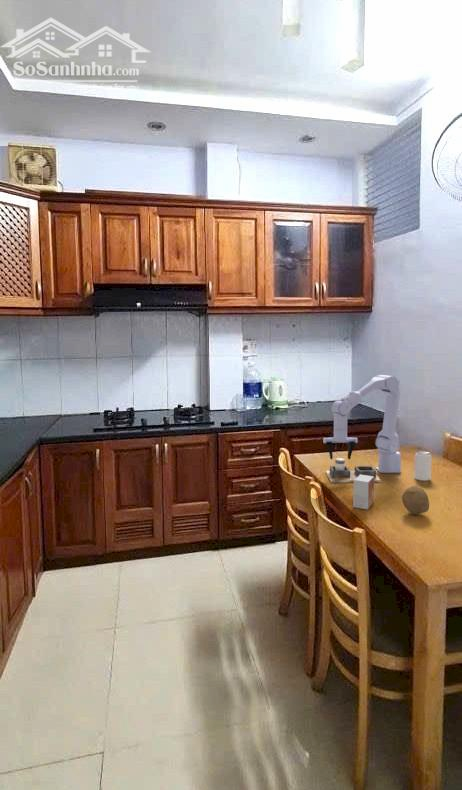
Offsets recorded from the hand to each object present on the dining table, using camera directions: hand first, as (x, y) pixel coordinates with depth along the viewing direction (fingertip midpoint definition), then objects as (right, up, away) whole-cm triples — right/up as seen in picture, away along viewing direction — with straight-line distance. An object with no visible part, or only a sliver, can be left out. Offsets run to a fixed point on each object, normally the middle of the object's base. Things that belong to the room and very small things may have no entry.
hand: (340, 458), depth 206 cm
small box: (+1, -13, -32) cm, 34 cm away
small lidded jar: (0, -7, +1) cm, 7 cm away
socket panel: (+6, -8, +1) cm, 10 cm away
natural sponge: (+17, -14, -40) cm, 46 cm away
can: (+35, -9, -3) cm, 36 cm away
